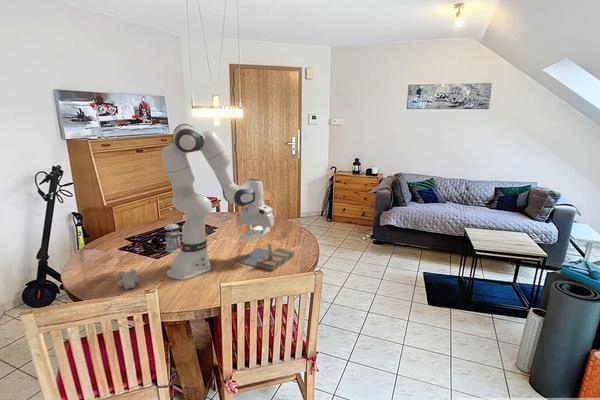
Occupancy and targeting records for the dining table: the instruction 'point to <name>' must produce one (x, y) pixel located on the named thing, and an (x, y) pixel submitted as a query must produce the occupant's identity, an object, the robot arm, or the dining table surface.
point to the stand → (275, 258)
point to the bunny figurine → (128, 279)
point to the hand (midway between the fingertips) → (257, 232)
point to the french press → (172, 237)
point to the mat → (253, 257)
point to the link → (254, 233)
